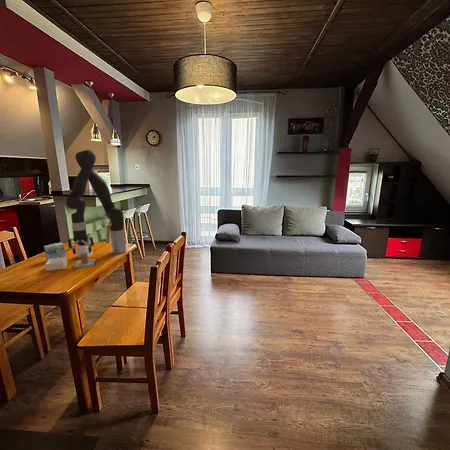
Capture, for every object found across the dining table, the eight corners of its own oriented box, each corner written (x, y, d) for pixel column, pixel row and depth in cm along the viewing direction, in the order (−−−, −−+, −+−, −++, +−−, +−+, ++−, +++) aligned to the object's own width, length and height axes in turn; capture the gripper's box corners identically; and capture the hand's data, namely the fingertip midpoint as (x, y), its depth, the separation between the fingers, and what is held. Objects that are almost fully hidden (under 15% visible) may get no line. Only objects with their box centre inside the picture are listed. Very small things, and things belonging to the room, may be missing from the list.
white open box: (67, 264, 167) (66, 257, 166) (64, 269, 158) (62, 262, 157) (50, 266, 164) (49, 259, 163) (46, 271, 155) (44, 264, 154)
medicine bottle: (92, 254, 186) (90, 238, 183) (86, 257, 179) (84, 241, 176) (83, 254, 187) (81, 238, 184) (77, 257, 180) (74, 241, 177)
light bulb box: (49, 262, 171) (46, 247, 168) (46, 260, 175) (43, 245, 172) (66, 258, 179) (64, 243, 177) (62, 256, 183) (60, 242, 181)
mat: (98, 259, 174) (98, 259, 174) (95, 266, 163) (95, 265, 163) (75, 262, 169) (75, 262, 169) (71, 269, 158) (71, 268, 158)
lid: (95, 259, 173) (94, 250, 171) (93, 265, 163) (91, 255, 161) (77, 262, 169) (76, 252, 168) (74, 268, 159) (72, 257, 158)
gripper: (92, 226, 167) (95, 250, 170) (68, 228, 162) (71, 252, 166) (90, 229, 160) (93, 253, 163) (64, 231, 155) (68, 256, 159)
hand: (82, 253), depth 164 cm, fingers open, 8 cm apart
